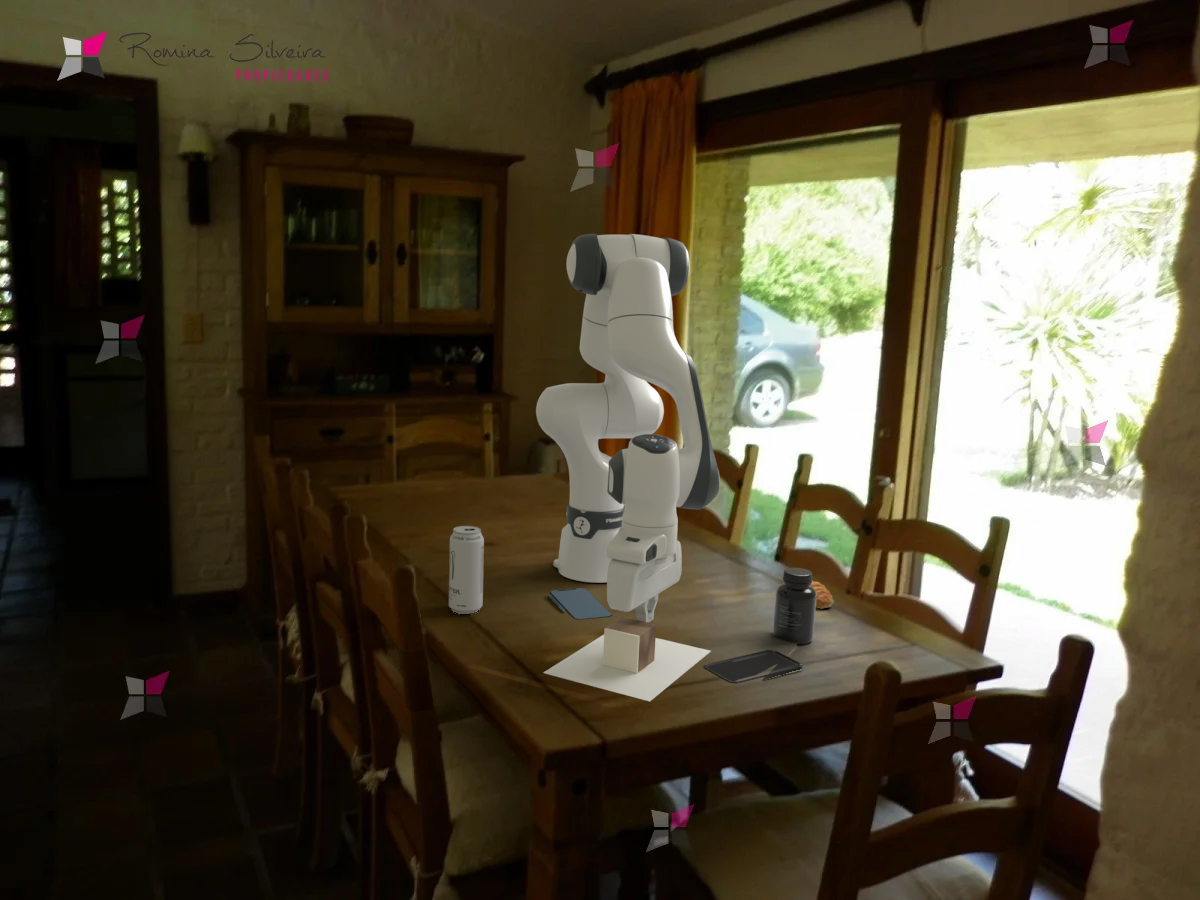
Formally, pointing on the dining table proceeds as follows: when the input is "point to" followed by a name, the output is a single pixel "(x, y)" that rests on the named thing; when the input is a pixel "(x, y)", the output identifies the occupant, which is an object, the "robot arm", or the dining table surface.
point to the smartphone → (579, 604)
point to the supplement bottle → (795, 607)
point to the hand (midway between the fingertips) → (644, 622)
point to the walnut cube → (629, 644)
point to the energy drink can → (466, 569)
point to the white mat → (641, 685)
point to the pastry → (822, 596)
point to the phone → (753, 666)
